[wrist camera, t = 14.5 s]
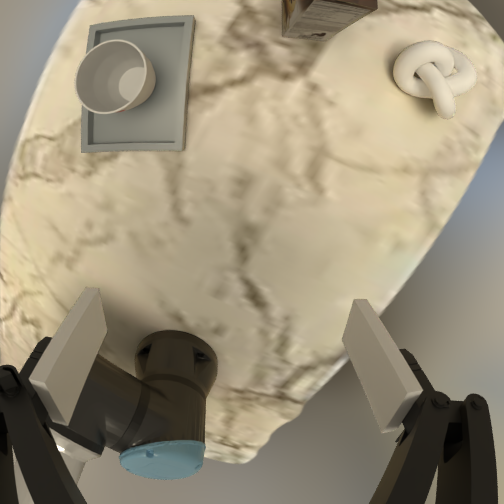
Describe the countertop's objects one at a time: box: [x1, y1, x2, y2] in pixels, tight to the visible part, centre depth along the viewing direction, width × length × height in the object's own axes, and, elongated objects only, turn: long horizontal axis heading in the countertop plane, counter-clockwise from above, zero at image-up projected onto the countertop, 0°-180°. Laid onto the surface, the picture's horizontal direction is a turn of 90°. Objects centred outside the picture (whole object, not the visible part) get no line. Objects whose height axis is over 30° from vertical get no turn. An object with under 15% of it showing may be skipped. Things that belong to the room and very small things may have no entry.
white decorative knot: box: [393, 41, 477, 120], centre depth 31 cm, size 11×12×9 cm
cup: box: [75, 39, 156, 114], centre depth 29 cm, size 8×8×10 cm
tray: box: [81, 15, 196, 153], centre depth 33 cm, size 18×14×2 cm
